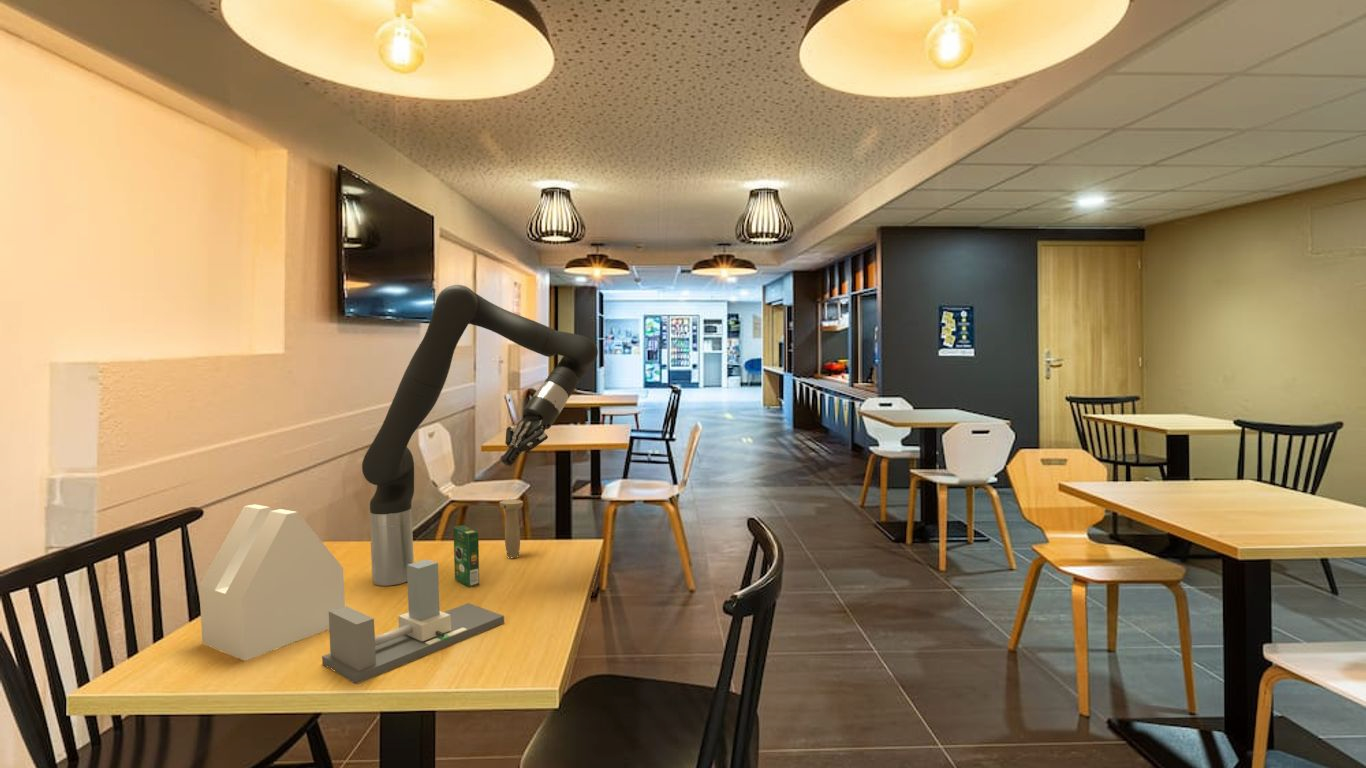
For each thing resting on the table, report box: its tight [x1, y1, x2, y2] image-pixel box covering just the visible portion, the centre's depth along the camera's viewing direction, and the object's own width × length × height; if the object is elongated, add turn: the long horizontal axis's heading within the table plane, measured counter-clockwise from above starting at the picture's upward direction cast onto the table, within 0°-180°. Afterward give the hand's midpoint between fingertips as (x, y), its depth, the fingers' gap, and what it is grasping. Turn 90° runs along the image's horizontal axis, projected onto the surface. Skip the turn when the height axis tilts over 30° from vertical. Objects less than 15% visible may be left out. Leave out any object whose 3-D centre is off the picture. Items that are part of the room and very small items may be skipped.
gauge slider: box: [375, 559, 451, 646], centre depth 122 cm, size 10×14×13 cm
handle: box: [499, 499, 524, 559], centre depth 177 cm, size 5×6×15 cm
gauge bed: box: [321, 602, 505, 685], centre depth 125 cm, size 12×30×10 cm, turn 143°
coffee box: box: [452, 525, 480, 588], centre depth 157 cm, size 8×3×13 cm, turn 44°
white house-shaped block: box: [198, 503, 346, 662], centre depth 130 cm, size 19×15×25 cm
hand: (505, 463), depth 148 cm, fingers closed
